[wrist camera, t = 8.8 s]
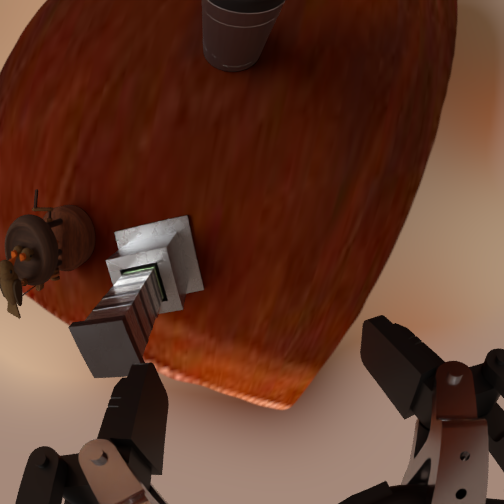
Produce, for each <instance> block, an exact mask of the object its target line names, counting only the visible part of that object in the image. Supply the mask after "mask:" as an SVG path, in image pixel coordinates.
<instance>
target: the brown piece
mask: <svg viewBox="0 0 504 504" xmlns="http://www.w3.org/2000/svg"><path fill="white" fill-rule="evenodd" d="M37 198H38V190H37V189H36V190H35V199H34V208H32V210H33V211H48V212H47V213H46V214H45V216H44V217H43V219H42V218H40V217H38V216H35V215H23V216H21V217H19V218H17V219H16V220H15V221H14V222H13V223H12V224H11V226H10V227H9V229H8V232H7V235H6V239H5V255H6V259H7V260H2V261H1V262H0V289H1V291H2V294H3V296H4V297H5V298H6V299H7V301H8V308H7V311H8V312H9V313H11V314H13V315H14V316H16V317H18V318H21V317H20V314H19V310H18V307H17V304H18V305H19V306H21V305H22V296H23V295H24V294H26V293H27V292H28V291H30V290H31V289H32V288H34V287H35V286H36V290H37V291H40V290H41V289H43V288H44V283H45V282H46V281H48V280H49V279H51V280H59V279H60V277H59V270H61V271H71V270H74V269H76V268H77V267H79V266H80V265H81V264H83V263H84V262H85V261H87V260H88V259H89V257H90V256H91V254H92V252H93V250H94V246H95V230H94V226H93V224H92V221H91V219H90V218H89V216H88V215H87V214H86V213H85V212H84V211H83V210H82V209H81V208H79V207H77V206H74V205H65V206H61V207H56V208H39V207H37ZM27 284H28V285H35V286H34V287H32V288H31V289H30V290H28V291H27V292H26V293H24V294H23V295H22V286H26V285H27Z"/></svg>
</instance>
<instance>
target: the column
mask: <svg viewBox="0 0 504 504" xmlns="http://www.w3.org/2000/svg"><path fill="white" fill-rule="evenodd" d="M164 294H165V288H164V285H163V282H162V278H161V274H160V271H159V267H158V263H157V262H156V263H151V264H146V265H141V266H136V267H131V268H128V269H127V271H125V272H124V274H123V275H122V276H121V277H120V278H119V279H118V280H117V282H116V283H115V284H114V286H112V287H111V289H110V290H109V292H108V293H107V294H106V295H105V296H104V297H103V298H102V300H101V301H100V302H99V304H98V305H97V306H96V307H95V308H94V309H93V311H92V312H91V314H90V315H89V316H88V317H87V319H86V320H85V321H80V322H73V323H72V324H71V325H70V326H69V329H70V332H71V334H72V336H73V338H74V340H75V342H76V344H77V346H78V348H79V350H80V352H81V354H82V356H83V358H84V360H85V362H86V364H87V366H88V368H89V369H90V371H91V373H92V375H93V376H94V378H106V377H124V376H128V374H129V371H130V368H131V366H132V364H140V363H145V362H144V360H143V357H142V356H143V353H144V350H145V347H146V344H147V343H148V338H149V336H150V333H151V330H152V328H153V324H154V321H155V319H156V317H157V313H158V310H159V308H160V306H161V302H162V300H163V298H164Z"/></svg>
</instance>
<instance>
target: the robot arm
mask: <svg viewBox="0 0 504 504" xmlns="http://www.w3.org/2000/svg"><path fill="white" fill-rule="evenodd" d="M284 2H285V0H202V22H203V51H204V56H205V58H206V60H207V61H208V62H209V63H210V64H211V65H212V66H214V67H216V68H218V69H220V70H223V71H229V72H234V71H241V70H245V69H247V68H249V67H251V66H252V65H254V64H255V63H256V62H257V60H258V59H259V57H260V54H261V52H262V50H263V48H264V45H265V43H266V41H267V39H268V36H269V34H270V32H271V30H272V28H273V25H274V23H275V21H276V19H277V17H278V15H279V13H280V11H281V8H282V6H283V4H284ZM360 353H361V359H362V362H363V364H364V366H365V367H366V369H367V370H368V371H369V373H370V374H371V375H372V376H373V378H374V379H375V380H376V381H377V383H378V384H379V386H380V387H381V388H382V390H383V391H384V392H385V393H386V395H387V396H388V398H389V399H390V401H391V402H392V403H393V404H394V405H395V407H396V409H397V410H398V411H399V413H400V414H401V415H402V417H403V418H404V419H407V418H409V417H411V416H412V415H414V414H415V415H416V416H417V418H418V419H417V421H416V426H415V433H414V440H413V446H412V451H411V457H410V462H409V465H408V468H407V470H406V472H405V475H404V477H403V480H402V483H401V485H397V486H390V487H389V485H388V484H387V482H386V481H385V482H382V483H380V484H378V485H376V486H374V487H372V488H369V489H367V490H364V491H362V492H360V493H357V494H354V495H352V496H350V497H349V498H347V499H345V500H344V501H342V502H340V503H339V504H504V500H499V499H488V498H486V494H487V482H488V462H489V461H488V460H489V452H490V453H491V455H492V456H493V457H494V459H495V460H496V462H497V463H498V464H499V466H500V467H501V469H502V470H503V472H504V410H503V409H502V408H501V407H500V406H499V405H498V404H497V400H498V398H499V396H500V395H502V397H503V398H504V349H493V350H491V351H490V352H489V353H488V354H487V356H486V359H485V361H484V363H482V364H479V365H475V366H472V367H468V366H467V365H465V364H463V363H461V362H458V361H449V362H444V361H443V360H442V359H441V358H440V357H439V356H438V355H437V354H436V353H435V352H433V351H432V350H431V349H430V348H429V347H428V346H427V345H426V344H424V343H423V342H421V340H420V339H419V338H418V337H415V335H414V334H413V333H412V332H411V331H410V330H409V329H407V328H406V327H403V326H401V325H399V324H396V323H395V324H392V323H391V322H390V321H389V320H388V319H387V318H386V317H385V316H383V315H381V316H377V317H374V318H371V319H368V320H365V321H364V323H363V329H362V341H361V351H360ZM167 414H168V396H167V393H166V390H165V388H164V386H163V384H162V382H161V380H160V378H159V375H158V373H157V371H156V368H155V366H154V364H153V363H140V364H132V366H131V368H130V371H129V374H128V377H127V378H122V379H121V380H120V381H119V382H118V383H117V384H116V386H115V387H114V389H113V392H112V395H111V399H110V400H109V403H108V408H107V410H106V412H105V416H104V419H103V422H102V425H101V428H100V431H99V434H98V437H97V439H95V440H92V441H89V442H88V443H86V444H85V445H84V446H83V447H82V448H81V450H80V452H79V453H78V454H72V455H63V456H60V455H58V454H57V452H55V450H53V449H52V448H50V447H46V446H43V447H39V448H37V449H35V450H34V451H33V452H32V453H31V455H30V456H29V459H28V462H27V465H26V468H25V471H24V474H23V478H22V481H21V484H20V488H19V492H18V495H17V499H16V504H61V503H62V497H63V498H64V499H65V503H64V504H168V503H167V502H166V501H165V500H164V498H163V497H162V496H161V495H160V494H159V493H158V491H157V490H156V489H155V488H154V486H153V485H152V484H151V483H150V482H151V475H162V468H163V454H164V443H165V433H166V423H167Z"/></svg>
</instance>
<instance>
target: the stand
mask: <svg viewBox="0 0 504 504" xmlns="http://www.w3.org/2000/svg"><path fill="white" fill-rule="evenodd" d="M114 233H115V237H116V241H117V245H118V249H119V250H118V251H117V252H116V253H114V254H113V255H112V256H111V257H109V258H108V259H107V260H106V263H107V267H108V270H109V273H110V276H111V280H112V283H113V286H114V284H115V283H116V282H117V280H118V279H119V278H120V277H121V276H122V275H123V274H124V272H125V271H127V269H128V268H131V267H136V266H141V265H146V264H151V263H156V262H157V263H158V267H159V271H160V274H161V278H162V282H163V285H164V288H165V294H164V298H163V300H162V302H161V306H160V308H159V310H158V313H157V317H158V315H159V314H160V313H166V312H172V311H177V310H183V307H184V302H185V297H186V293H191V292H196V291H201V290H204V285H203V281H202V277H201V273H200V268H199V264H198V260H197V255H196V251H195V246H194V242H193V237H192V233H191V228H190V223H189V218H188V215H184V216H180V217H175V218H170V219H166V220H161V221H157V222H153V223H148V224H144V225H140V226H136V227H131V228H127V229H123V230H119V231H116V232H114ZM157 317H156V318H157Z"/></svg>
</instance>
